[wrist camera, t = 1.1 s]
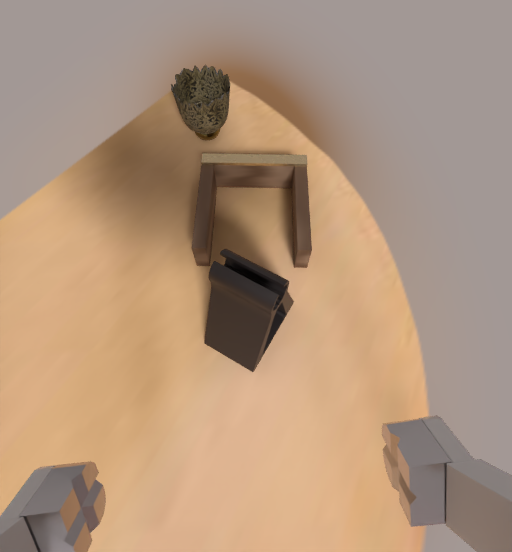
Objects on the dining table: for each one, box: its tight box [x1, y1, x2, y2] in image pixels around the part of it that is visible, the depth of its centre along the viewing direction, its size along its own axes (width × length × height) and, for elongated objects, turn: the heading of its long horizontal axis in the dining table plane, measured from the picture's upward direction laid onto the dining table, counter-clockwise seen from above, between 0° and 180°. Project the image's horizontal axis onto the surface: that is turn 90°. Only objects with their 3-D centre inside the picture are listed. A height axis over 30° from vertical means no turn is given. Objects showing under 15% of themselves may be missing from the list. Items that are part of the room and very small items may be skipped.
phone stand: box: [205, 249, 294, 372], centre depth 33 cm, size 9×6×12 cm, turn 149°
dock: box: [192, 153, 312, 268], centre depth 43 cm, size 13×14×4 cm
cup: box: [171, 65, 230, 140], centre depth 48 cm, size 8×7×8 cm
